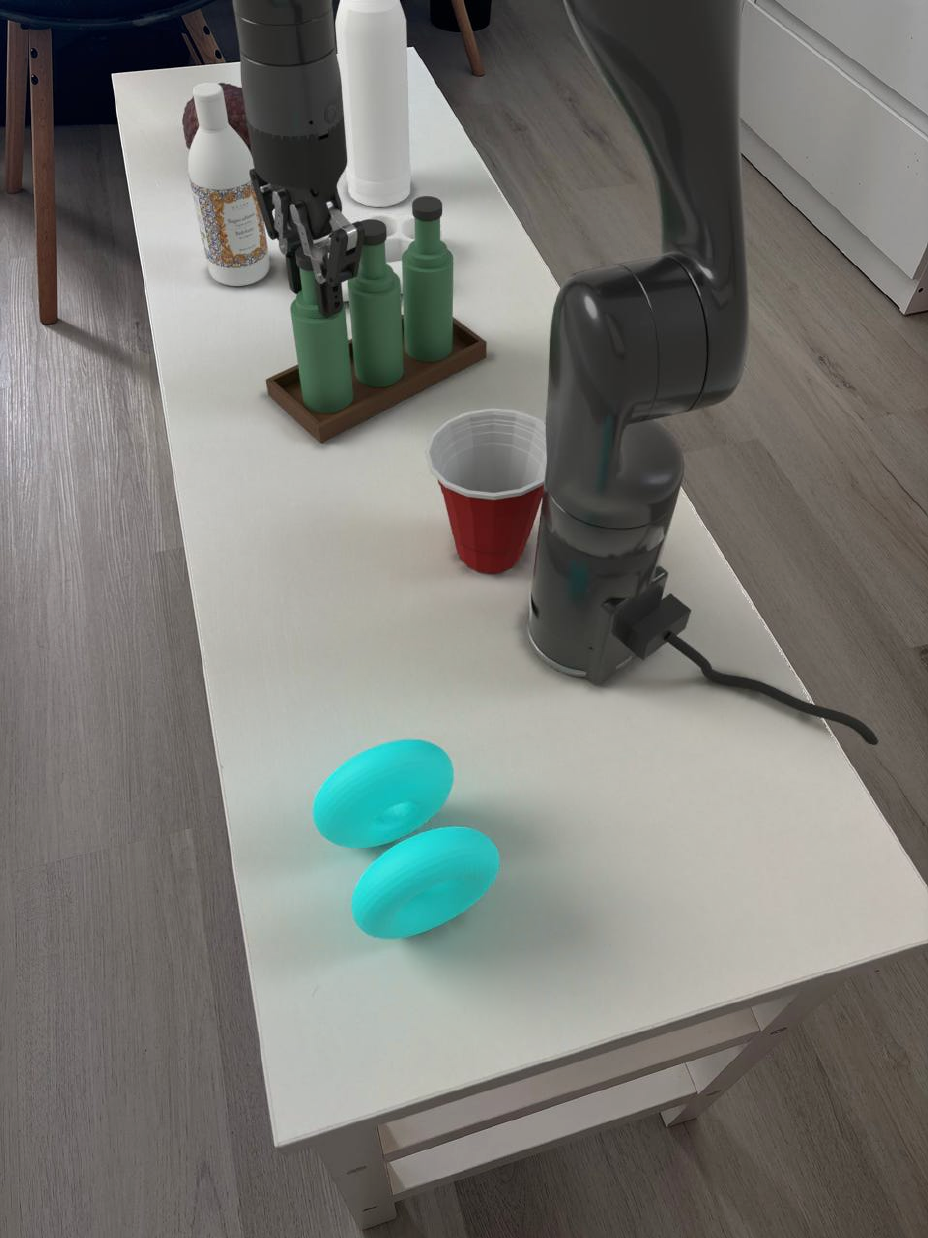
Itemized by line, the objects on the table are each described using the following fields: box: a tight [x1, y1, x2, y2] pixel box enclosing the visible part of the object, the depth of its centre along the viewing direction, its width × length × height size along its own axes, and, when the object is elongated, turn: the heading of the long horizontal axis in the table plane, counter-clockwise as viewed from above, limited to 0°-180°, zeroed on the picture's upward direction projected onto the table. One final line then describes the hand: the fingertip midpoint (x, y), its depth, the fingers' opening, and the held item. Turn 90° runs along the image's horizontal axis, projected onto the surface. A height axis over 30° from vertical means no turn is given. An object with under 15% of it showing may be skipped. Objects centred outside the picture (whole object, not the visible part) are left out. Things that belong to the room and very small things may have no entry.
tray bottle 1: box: [347, 219, 404, 387], centre depth 94 cm, size 5×5×16 cm
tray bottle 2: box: [402, 195, 454, 362], centre depth 97 cm, size 5×5×16 cm
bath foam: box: [187, 82, 271, 287], centre depth 104 cm, size 7×7×20 cm
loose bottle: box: [289, 246, 353, 414], centre depth 91 cm, size 5×5×16 cm
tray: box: [265, 313, 488, 444], centre depth 100 cm, size 9×21×2 cm, turn 130°
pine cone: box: [181, 82, 253, 158], centre depth 124 cm, size 18×10×10 cm
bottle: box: [334, 0, 412, 208], centre depth 111 cm, size 8×8×30 cm
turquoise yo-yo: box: [312, 738, 501, 940], centre depth 64 cm, size 10×10×10 cm
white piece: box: [313, 212, 443, 303], centre depth 111 cm, size 3×18×15 cm
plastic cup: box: [424, 407, 547, 575], centre depth 82 cm, size 11×11×12 cm
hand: (316, 300), depth 89 cm, fingers open, 4 cm apart
